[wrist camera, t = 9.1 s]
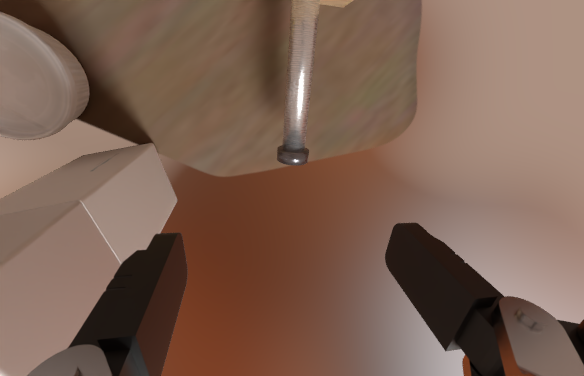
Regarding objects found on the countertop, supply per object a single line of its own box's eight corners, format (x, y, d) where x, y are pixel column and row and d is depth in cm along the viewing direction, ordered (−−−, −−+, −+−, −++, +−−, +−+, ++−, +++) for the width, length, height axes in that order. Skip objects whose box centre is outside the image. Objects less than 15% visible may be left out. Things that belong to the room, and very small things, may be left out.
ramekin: (-2, 124, 28) (-53, 135, 23) (-46, 5, 23) (-121, -11, 18) (109, 133, 30) (83, 145, 25) (89, 27, 25) (53, 17, 21)
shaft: (287, -72, 20) (294, -97, 17) (327, -64, 20) (341, -87, 17) (275, 154, 28) (278, 165, 25) (304, 155, 29) (310, 165, 26)
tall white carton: (153, 141, 31) (-76, 320, 9) (178, 200, 35) (62, 423, 13) (82, 155, 30) (-358, 384, 8) (115, 213, 34) (-121, 472, 12)
